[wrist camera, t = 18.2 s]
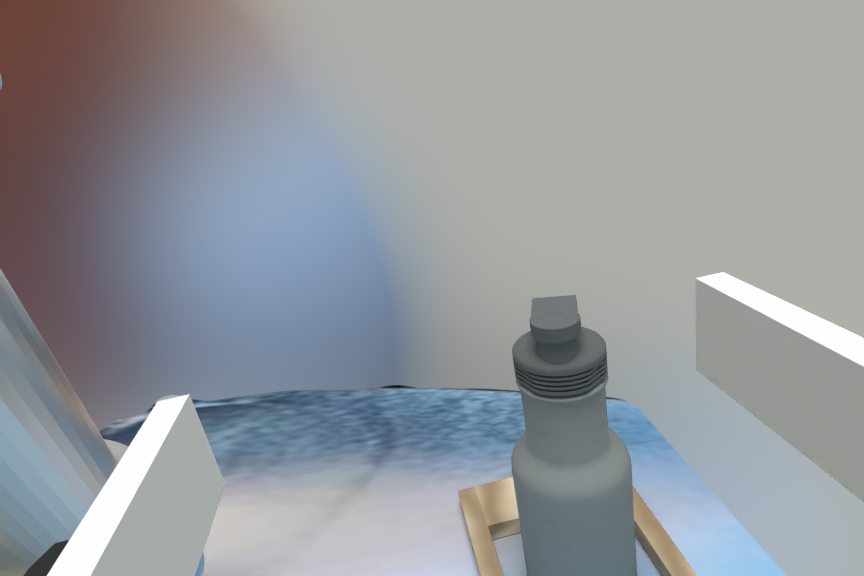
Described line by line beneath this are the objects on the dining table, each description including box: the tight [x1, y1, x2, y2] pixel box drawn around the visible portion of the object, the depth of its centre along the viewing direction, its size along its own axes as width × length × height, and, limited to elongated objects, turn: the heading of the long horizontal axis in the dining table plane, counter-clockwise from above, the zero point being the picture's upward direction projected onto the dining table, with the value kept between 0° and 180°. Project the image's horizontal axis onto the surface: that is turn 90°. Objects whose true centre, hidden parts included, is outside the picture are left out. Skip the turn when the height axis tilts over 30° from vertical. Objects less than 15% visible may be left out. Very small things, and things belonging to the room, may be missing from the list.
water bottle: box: [511, 295, 637, 576], centre depth 45 cm, size 10×10×28 cm
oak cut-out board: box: [458, 477, 698, 576], centre depth 52 cm, size 18×20×2 cm
